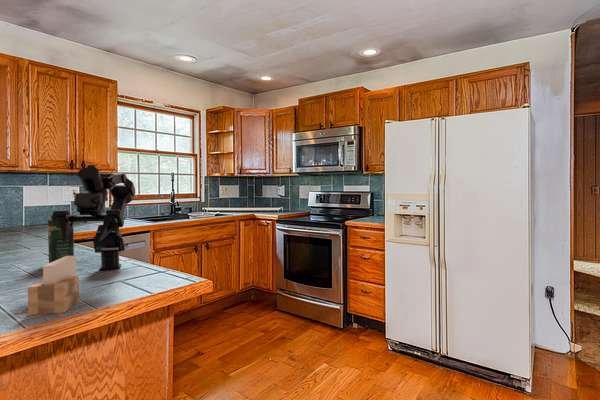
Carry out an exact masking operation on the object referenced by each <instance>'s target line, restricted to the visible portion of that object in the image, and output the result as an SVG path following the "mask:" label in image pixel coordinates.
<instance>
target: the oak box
mask: <svg viewBox="0 0 600 400" xmlns="http://www.w3.org/2000/svg"><path fill="white" fill-rule="evenodd" d="M79 277H80V276H79V275H76V276H70V277H68V278H66V279H65V280H63V281H61V282H59V283H58V284H53V285H43V279H40V280H39V281H36V282H35V283H32V284H31V285H29V286H27V308H28V309H27V313H28V316H30V315H45V314H61V313H66V312H67V311H68V310H70V309H71V308H72V307H74V306H75V305H76V304H77V303H78V302H79V301H80V280H79V279H80V278H79Z"/></svg>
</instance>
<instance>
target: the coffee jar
mask: <svg viewBox="0 0 600 400" xmlns="http://www.w3.org/2000/svg"><path fill="white" fill-rule="evenodd" d="M71 228H72V231H71V233H70V235H69V237H68V240H67V241H66V242H65V243H64V242H63V237H62V230H61V229H59V228H57V227H56V225H55V224H54V222H53V220H52V218H51V217H50V218H49V219H47V234H48V235H47V236H48V264H49V263H51V262H53V261H56V260H58V259H60V258H62V257H65V256H75V248H74V247H75V239H74V238H75V236H74V234H75V233H74V232H75V231H74V225H73V226H72V227H71Z"/></svg>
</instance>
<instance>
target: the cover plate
mask: <svg viewBox="0 0 600 400" xmlns="http://www.w3.org/2000/svg"><path fill="white" fill-rule="evenodd" d="M70 276H77V255H74V256H65V257H62V258H60V259H58V260H56V261H53V262H51V263H49V262H48V263H47V264H44V265H43V266H42V277H43V278H42V280H43V285H53V284H58V283H59V282H61V281H63V280H65V279H66V278H68V277H70Z"/></svg>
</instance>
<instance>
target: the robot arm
mask: <svg viewBox="0 0 600 400" xmlns="http://www.w3.org/2000/svg"><path fill="white" fill-rule="evenodd" d="M76 176H77V177H78V180H79V182H80V184H81V187H82V189H83V191H85V192H84V193H83V192H81V193H80V192H77V193H75V194H74V200H73V205H74V206H76V212H77V213H79V214H71V212H70V210H53V212H52V213H51V216H50V218H52V220H53V222H54V224H55V225H56V227H57V228H59V229H61V230H62V237H63V242H64V243H65V242H66V241H67V240H68V237H69V235H70V233H71V231H72V228H71V227H72V226H73V227H74V223H77V222H78V223H80V222H81V223H82V222H83V223H102V224H99V225H98V226H97V229H96V232H95V235H93V240H92V241H93V249H94V253H100V260H101V262H100V264H101V265H100V267H98V268H99V269H98V271H107V270H108V271H110V270H119V269H121V266H122V263H120V252H123V251H125V250H126V249H125V248H126V247H125V244H126V243H125V241H124V239H123V237H122V236H123V235H122V234H121V232H120V228H123V227H124V225H125V218H124V214H125V210H126V206H127V205H128V204H129V203H131V202H133V199H134V196H136V189H135V186H134V184H135V183H134V182H133V181H132V180H130V179H129V178H128V177H127V174H126V173H123V172H113V173H112V172H100V171H99V168H97V167H96V165H95V164H88V165H87V166H86V167H83V168H80V170H78V171H77V175H76ZM108 190H109V191H108ZM86 192H87V193H86ZM109 193H110V195H111V197H112V200H113V201H112V204H111V207H110V209H107V210H105V204H106V202H108V201H109V199H108V194H109ZM105 211H106V212H105ZM103 213H106V214H103Z"/></svg>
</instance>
